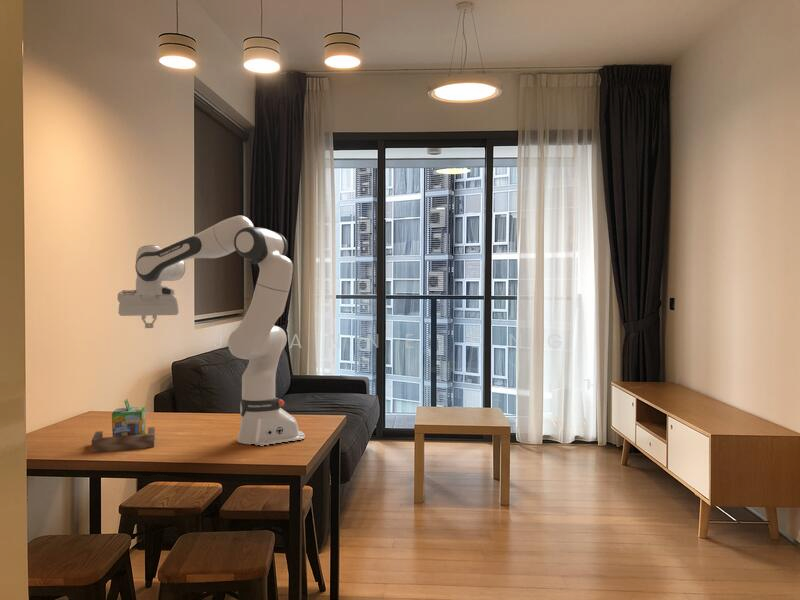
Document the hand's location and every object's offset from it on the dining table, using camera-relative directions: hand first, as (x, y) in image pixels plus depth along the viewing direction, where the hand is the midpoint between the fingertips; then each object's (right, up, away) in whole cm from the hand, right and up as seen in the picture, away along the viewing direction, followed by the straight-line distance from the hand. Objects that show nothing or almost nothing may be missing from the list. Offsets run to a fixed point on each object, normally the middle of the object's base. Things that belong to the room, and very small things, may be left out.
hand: (149, 328), depth 216 cm
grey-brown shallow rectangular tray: (+1, -37, -22) cm, 43 cm away
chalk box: (+2, -38, -21) cm, 43 cm away
